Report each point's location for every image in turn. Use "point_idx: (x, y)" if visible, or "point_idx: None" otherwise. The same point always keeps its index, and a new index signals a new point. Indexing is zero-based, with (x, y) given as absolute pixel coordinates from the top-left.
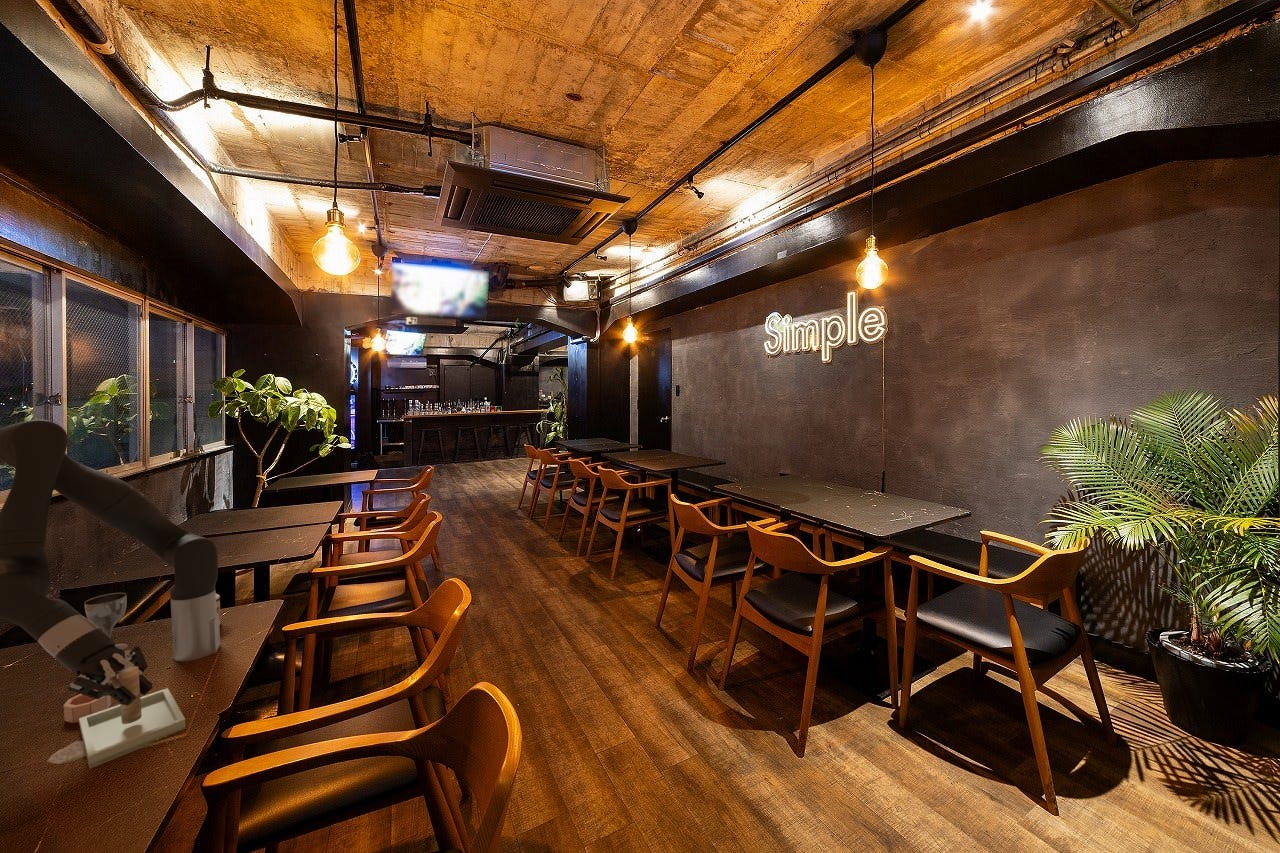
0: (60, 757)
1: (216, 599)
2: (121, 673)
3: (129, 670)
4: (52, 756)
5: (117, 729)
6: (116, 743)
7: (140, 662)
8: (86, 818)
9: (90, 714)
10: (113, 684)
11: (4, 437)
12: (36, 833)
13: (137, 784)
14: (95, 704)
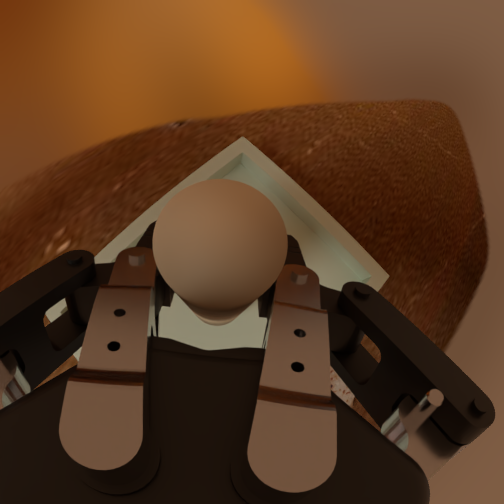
0: (339, 392)
1: None
2: (273, 256)
3: (227, 224)
4: None
5: (232, 335)
6: (342, 245)
7: (53, 284)
8: (455, 184)
9: None
10: (312, 289)
11: None
12: (479, 234)
13: (399, 153)
14: None
